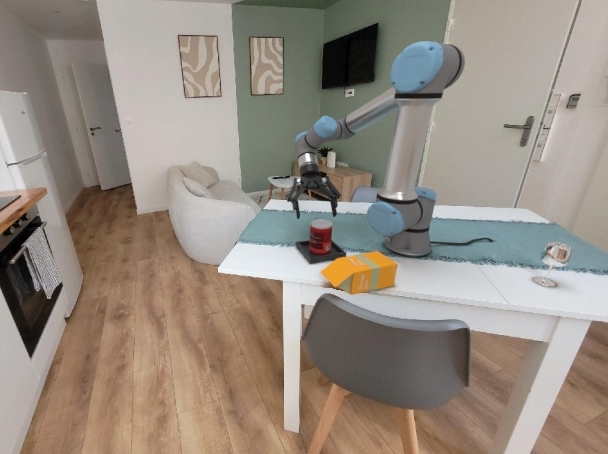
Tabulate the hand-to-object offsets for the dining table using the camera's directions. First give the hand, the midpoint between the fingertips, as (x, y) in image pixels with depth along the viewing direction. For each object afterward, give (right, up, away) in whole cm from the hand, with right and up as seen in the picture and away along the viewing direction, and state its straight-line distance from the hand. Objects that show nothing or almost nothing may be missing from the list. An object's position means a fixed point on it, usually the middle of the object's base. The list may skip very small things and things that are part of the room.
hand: (316, 216), depth 107 cm
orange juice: (+17, -16, -18) cm, 30 cm away
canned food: (+1, -13, +1) cm, 13 cm away
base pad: (+1, -13, +1) cm, 13 cm away
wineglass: (+62, -20, -22) cm, 69 cm away
